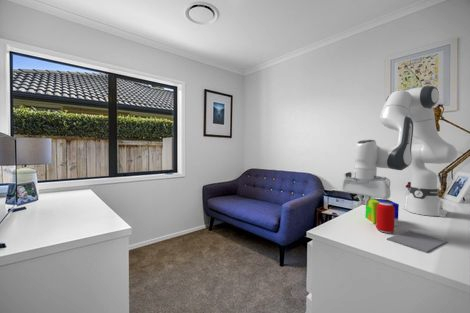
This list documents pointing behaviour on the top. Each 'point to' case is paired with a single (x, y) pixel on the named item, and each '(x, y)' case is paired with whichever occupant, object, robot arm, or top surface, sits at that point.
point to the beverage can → (385, 217)
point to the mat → (417, 241)
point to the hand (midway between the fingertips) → (364, 204)
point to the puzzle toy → (372, 209)
